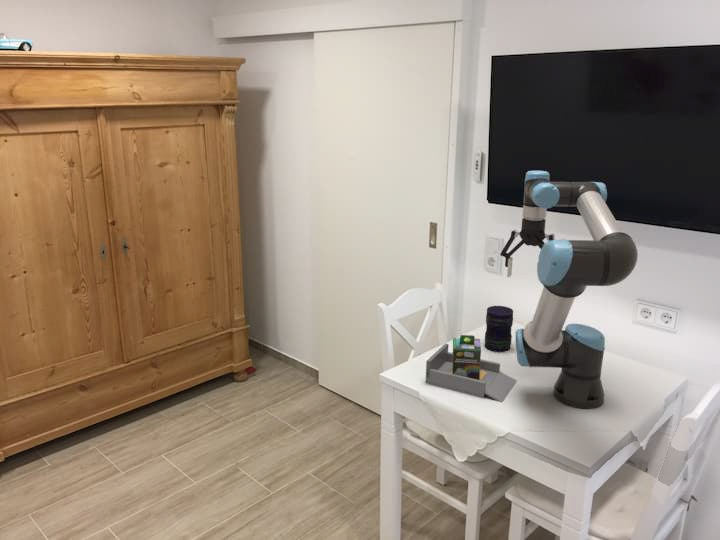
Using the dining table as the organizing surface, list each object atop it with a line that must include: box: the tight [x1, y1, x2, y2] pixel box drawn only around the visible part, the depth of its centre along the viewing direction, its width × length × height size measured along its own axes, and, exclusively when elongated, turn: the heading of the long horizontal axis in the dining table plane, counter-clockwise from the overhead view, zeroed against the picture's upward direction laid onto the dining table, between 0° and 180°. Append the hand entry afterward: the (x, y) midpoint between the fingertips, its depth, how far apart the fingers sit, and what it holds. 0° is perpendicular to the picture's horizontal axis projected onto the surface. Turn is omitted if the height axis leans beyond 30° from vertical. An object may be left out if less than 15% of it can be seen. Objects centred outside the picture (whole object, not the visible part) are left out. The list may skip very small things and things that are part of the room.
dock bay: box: [425, 343, 518, 403], centre depth 197 cm, size 26×16×8 cm, turn 60°
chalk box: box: [452, 334, 482, 380], centre depth 196 cm, size 9×9×15 cm
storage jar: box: [484, 305, 514, 353], centre depth 223 cm, size 10×10×15 cm
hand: (528, 279), depth 202 cm, fingers open, 13 cm apart
